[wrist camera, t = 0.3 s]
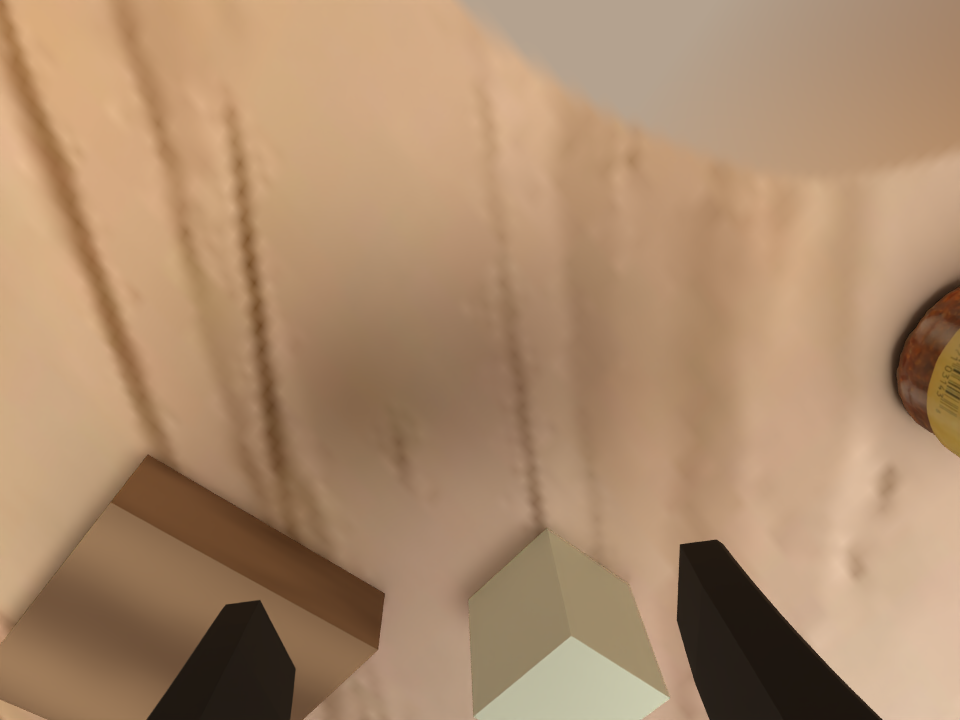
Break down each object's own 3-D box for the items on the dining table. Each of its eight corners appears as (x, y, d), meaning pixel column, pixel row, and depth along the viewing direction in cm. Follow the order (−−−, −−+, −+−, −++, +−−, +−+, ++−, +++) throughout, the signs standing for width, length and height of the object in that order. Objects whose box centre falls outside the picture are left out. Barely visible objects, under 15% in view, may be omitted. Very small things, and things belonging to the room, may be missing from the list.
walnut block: (244, 722, 27) (222, 793, 25) (21, 617, 24) (-32, 685, 22) (385, 586, 25) (377, 649, 22) (153, 448, 22) (110, 502, 19)
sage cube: (550, 648, 26) (572, 770, 21) (468, 598, 25) (473, 716, 20) (628, 583, 25) (670, 698, 20) (546, 526, 23) (571, 635, 19)
